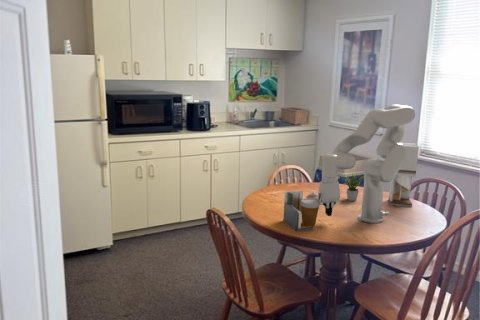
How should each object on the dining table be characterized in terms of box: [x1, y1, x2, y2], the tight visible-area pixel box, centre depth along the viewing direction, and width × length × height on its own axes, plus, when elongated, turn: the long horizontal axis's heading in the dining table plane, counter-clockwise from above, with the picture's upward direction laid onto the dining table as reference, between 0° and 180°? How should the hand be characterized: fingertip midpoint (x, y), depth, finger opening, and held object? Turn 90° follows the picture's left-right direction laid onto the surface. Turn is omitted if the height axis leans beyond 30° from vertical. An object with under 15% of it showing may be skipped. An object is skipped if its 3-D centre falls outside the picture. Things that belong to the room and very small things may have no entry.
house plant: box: [343, 173, 364, 202], centre depth 240 cm, size 14×14×16 cm
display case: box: [388, 142, 420, 208], centre depth 234 cm, size 11×11×35 cm
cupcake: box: [305, 190, 320, 210], centre depth 223 cm, size 9×9×10 cm
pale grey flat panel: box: [290, 193, 302, 229], centre depth 197 cm, size 1×13×14 cm, turn 16°
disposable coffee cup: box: [300, 198, 321, 228], centre depth 199 cm, size 10×10×12 cm
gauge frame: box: [282, 190, 314, 232], centre depth 197 cm, size 10×15×15 cm, turn 16°
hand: (328, 214), depth 202 cm, fingers closed
